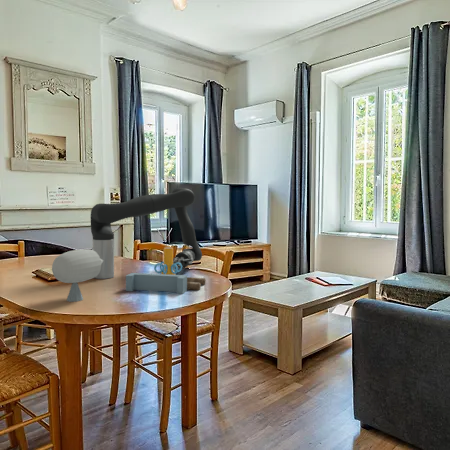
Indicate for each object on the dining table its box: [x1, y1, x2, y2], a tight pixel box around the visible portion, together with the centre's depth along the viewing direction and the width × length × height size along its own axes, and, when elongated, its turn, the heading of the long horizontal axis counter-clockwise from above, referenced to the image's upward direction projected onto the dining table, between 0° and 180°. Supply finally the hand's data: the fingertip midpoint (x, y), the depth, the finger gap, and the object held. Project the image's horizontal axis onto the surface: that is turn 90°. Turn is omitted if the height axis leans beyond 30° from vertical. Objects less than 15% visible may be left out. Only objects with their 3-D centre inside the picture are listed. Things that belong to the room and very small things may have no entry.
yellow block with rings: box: [153, 246, 183, 275], centre depth 173 cm, size 12×10×15 cm
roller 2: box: [187, 282, 202, 291], centre depth 161 cm, size 8×3×3 cm, turn 81°
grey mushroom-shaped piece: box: [51, 248, 103, 303], centre depth 143 cm, size 15×20×18 cm
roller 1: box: [187, 276, 207, 286], centre depth 171 cm, size 8×3×3 cm, turn 81°
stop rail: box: [125, 272, 188, 295], centre depth 158 cm, size 23×6×6 cm, turn 81°
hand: (174, 264), depth 181 cm, fingers closed
